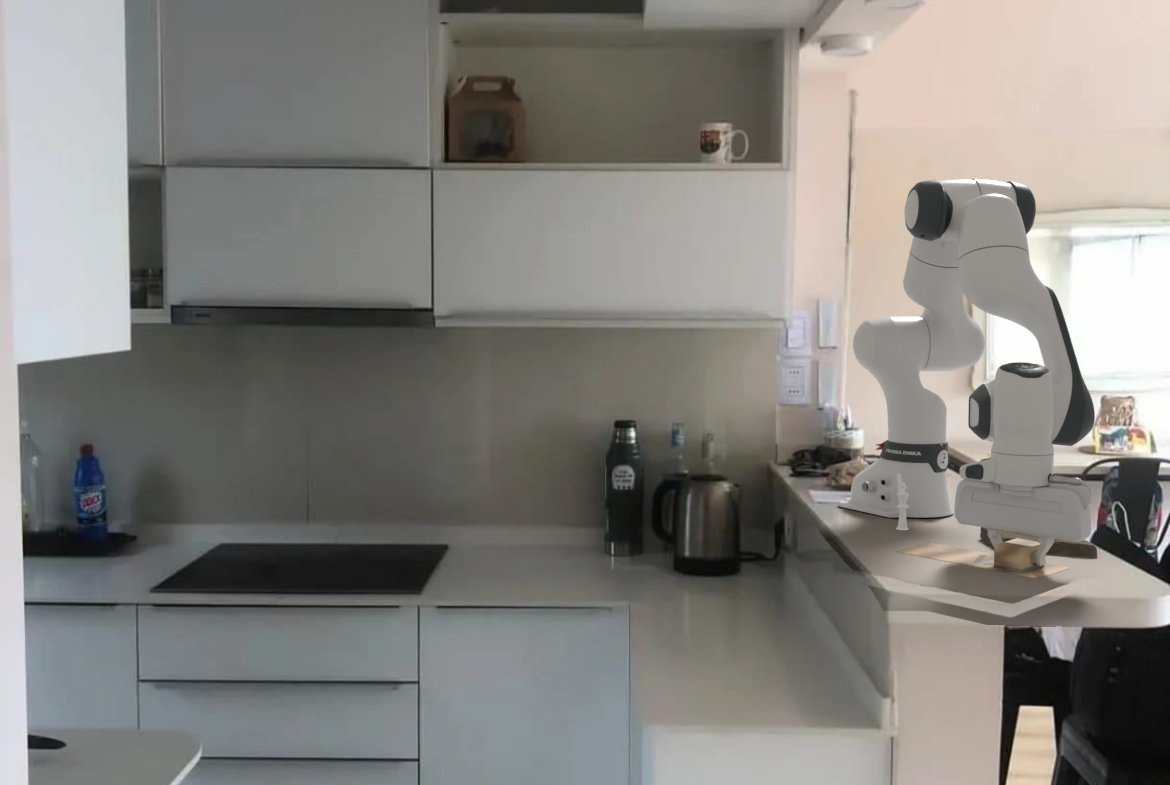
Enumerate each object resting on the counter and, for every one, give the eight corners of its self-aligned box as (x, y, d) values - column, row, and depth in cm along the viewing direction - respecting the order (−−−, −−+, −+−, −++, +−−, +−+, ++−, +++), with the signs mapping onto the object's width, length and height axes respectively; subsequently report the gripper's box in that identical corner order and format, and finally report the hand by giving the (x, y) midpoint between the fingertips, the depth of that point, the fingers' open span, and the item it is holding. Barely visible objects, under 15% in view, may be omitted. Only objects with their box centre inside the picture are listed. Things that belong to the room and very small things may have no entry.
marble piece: (1100, 569, 172) (1100, 543, 172) (1005, 569, 173) (1005, 543, 172) (1059, 546, 189) (1060, 522, 188) (973, 546, 189) (973, 522, 189)
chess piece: (905, 534, 197) (906, 479, 197) (922, 539, 193) (923, 483, 192) (882, 536, 196) (883, 481, 195) (899, 541, 191) (900, 485, 190)
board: (894, 560, 177) (894, 551, 177) (928, 551, 184) (929, 542, 183) (1038, 588, 159) (1038, 578, 159) (1070, 577, 165) (1070, 567, 165)
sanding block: (993, 567, 166) (994, 544, 165) (1016, 560, 170) (1017, 538, 170) (1021, 572, 162) (1022, 549, 162) (1044, 565, 167) (1045, 542, 167)
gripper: (1100, 476, 159) (1097, 570, 160) (971, 462, 175) (969, 547, 176) (1080, 481, 155) (1077, 577, 156) (950, 466, 171) (948, 553, 172)
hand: (1019, 561), depth 166 cm, fingers closed on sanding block, 4 cm apart
